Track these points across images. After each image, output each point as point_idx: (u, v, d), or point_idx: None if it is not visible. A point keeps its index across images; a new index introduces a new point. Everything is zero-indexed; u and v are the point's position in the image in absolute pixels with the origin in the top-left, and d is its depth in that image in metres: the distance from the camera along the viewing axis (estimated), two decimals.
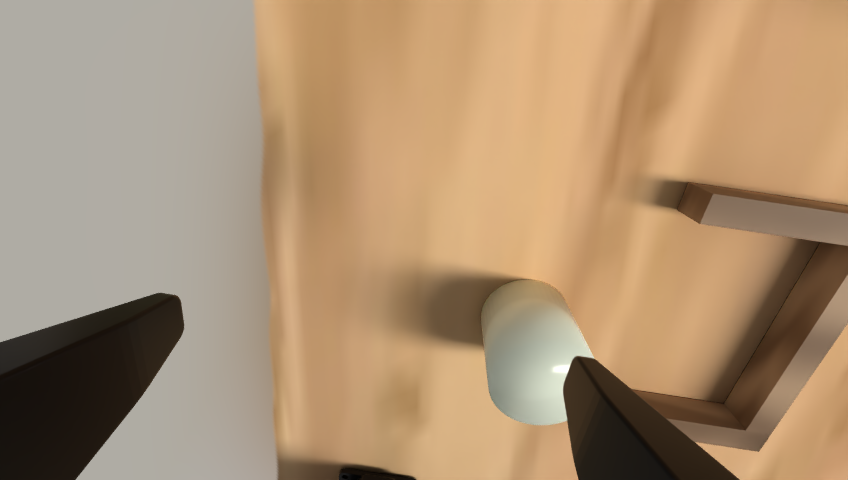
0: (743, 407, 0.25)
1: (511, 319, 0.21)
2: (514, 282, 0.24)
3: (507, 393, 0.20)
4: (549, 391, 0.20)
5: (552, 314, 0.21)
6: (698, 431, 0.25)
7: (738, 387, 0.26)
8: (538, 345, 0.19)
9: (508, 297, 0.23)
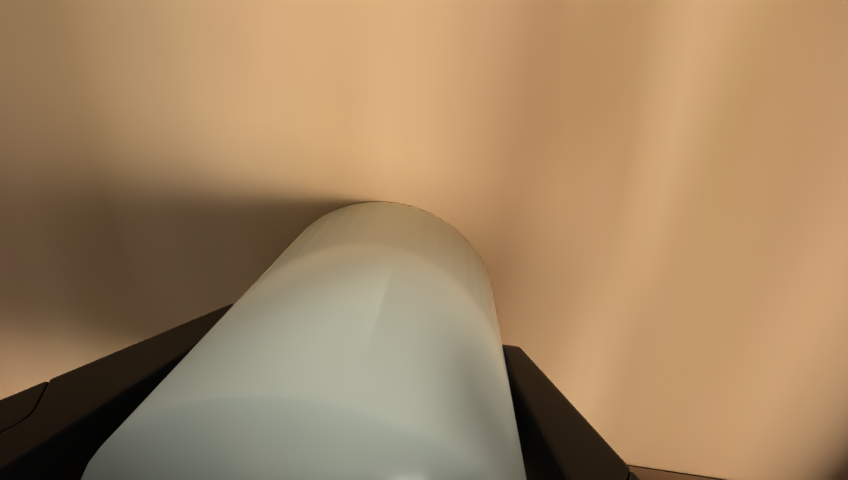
0: None
1: (242, 301, 0.06)
2: (341, 209, 0.09)
3: None
4: None
5: (378, 282, 0.06)
6: None
7: None
8: (221, 421, 0.04)
9: (298, 242, 0.08)
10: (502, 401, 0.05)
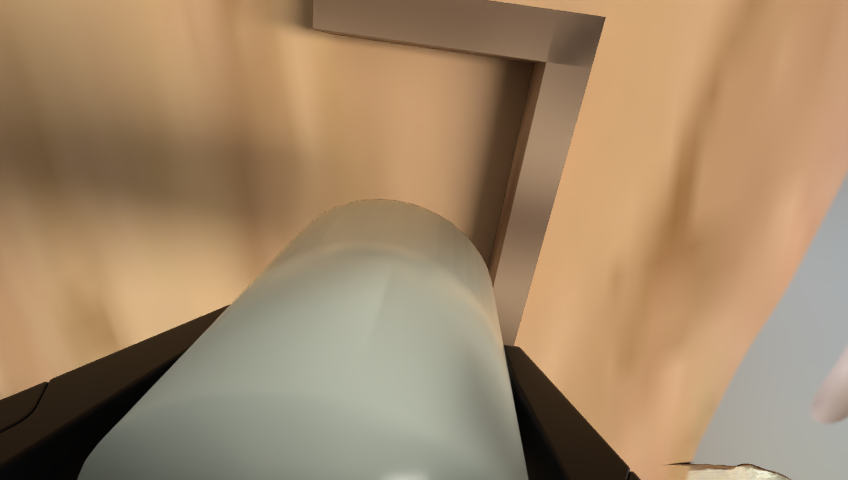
0: None
1: (242, 297, 0.06)
2: (341, 206, 0.09)
3: None
4: None
5: (378, 279, 0.06)
6: None
7: None
8: (220, 418, 0.04)
9: (298, 240, 0.08)
10: (503, 399, 0.05)
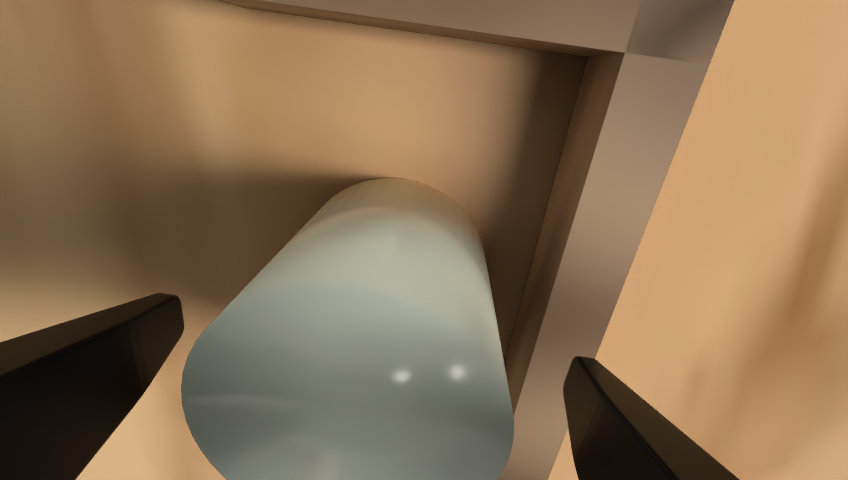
0: None
1: (289, 245, 0.08)
2: (359, 183, 0.11)
3: (248, 451, 0.07)
4: (365, 447, 0.07)
5: (394, 228, 0.08)
6: None
7: None
8: (293, 304, 0.06)
9: (325, 208, 0.10)
10: (488, 314, 0.07)
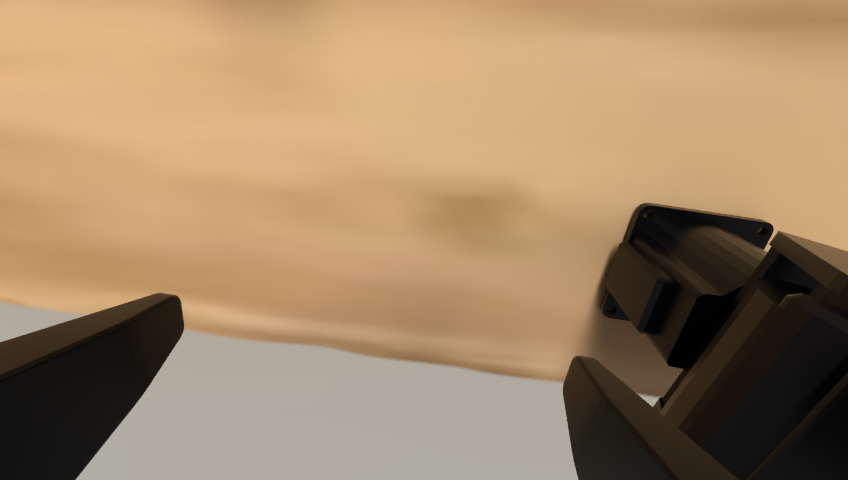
0: None
1: None
2: None
3: None
4: None
5: None
6: None
7: None
8: None
9: None
10: None
